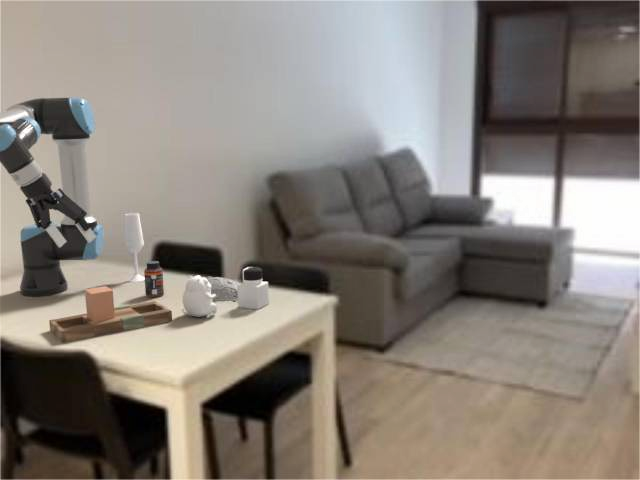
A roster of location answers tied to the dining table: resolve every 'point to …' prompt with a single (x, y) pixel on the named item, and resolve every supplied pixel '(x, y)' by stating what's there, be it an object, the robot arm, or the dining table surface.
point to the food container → (223, 289)
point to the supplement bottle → (153, 279)
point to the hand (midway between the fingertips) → (77, 242)
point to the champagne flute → (134, 241)
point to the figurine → (198, 297)
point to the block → (99, 303)
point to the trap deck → (110, 321)
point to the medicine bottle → (253, 289)
